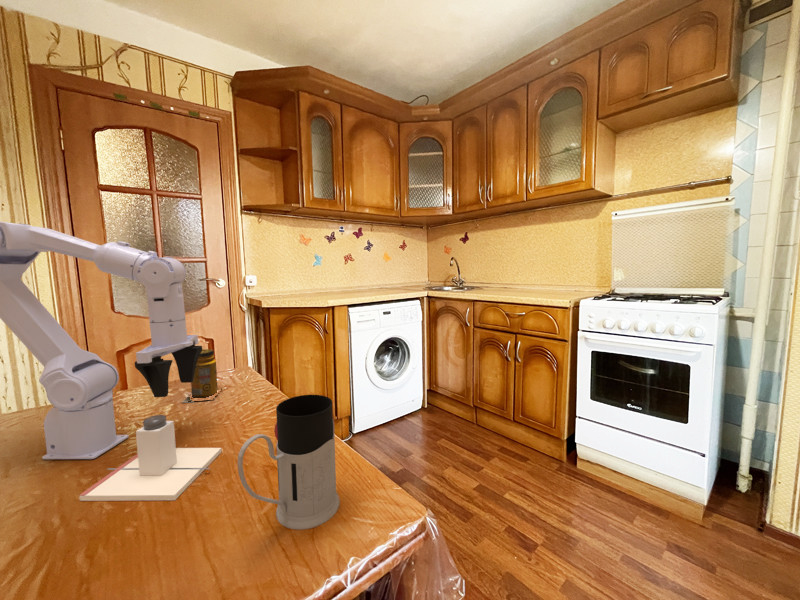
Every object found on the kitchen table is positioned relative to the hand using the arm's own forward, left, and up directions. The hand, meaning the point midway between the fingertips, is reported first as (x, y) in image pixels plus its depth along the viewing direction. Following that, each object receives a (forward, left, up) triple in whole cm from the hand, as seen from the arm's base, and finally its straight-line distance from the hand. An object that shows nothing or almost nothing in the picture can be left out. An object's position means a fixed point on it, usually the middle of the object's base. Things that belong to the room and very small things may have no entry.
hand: (174, 388), depth 66 cm
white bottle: (+4, -11, -10) cm, 15 cm away
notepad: (+4, -11, -10) cm, 16 cm away
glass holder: (+30, -21, -11) cm, 38 cm away
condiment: (-8, +23, -11) cm, 27 cm away
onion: (+24, -3, -11) cm, 26 cm away
